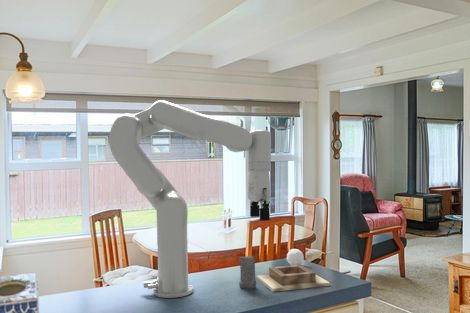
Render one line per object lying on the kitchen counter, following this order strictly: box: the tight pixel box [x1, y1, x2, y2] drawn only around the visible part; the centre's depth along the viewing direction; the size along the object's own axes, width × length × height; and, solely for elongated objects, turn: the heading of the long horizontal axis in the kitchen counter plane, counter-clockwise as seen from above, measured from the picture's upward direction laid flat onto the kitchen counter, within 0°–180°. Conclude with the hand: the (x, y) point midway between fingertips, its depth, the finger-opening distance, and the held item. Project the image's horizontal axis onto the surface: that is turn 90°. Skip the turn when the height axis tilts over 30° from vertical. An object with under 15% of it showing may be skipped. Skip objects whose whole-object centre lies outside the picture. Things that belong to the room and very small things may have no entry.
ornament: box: [286, 248, 305, 265], centre depth 168 cm, size 6×7×7 cm
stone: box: [238, 256, 257, 290], centre depth 141 cm, size 3×6×10 cm, turn 81°
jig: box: [256, 264, 331, 292], centre depth 146 cm, size 20×16×4 cm
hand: (259, 218), depth 143 cm, fingers open, 9 cm apart
